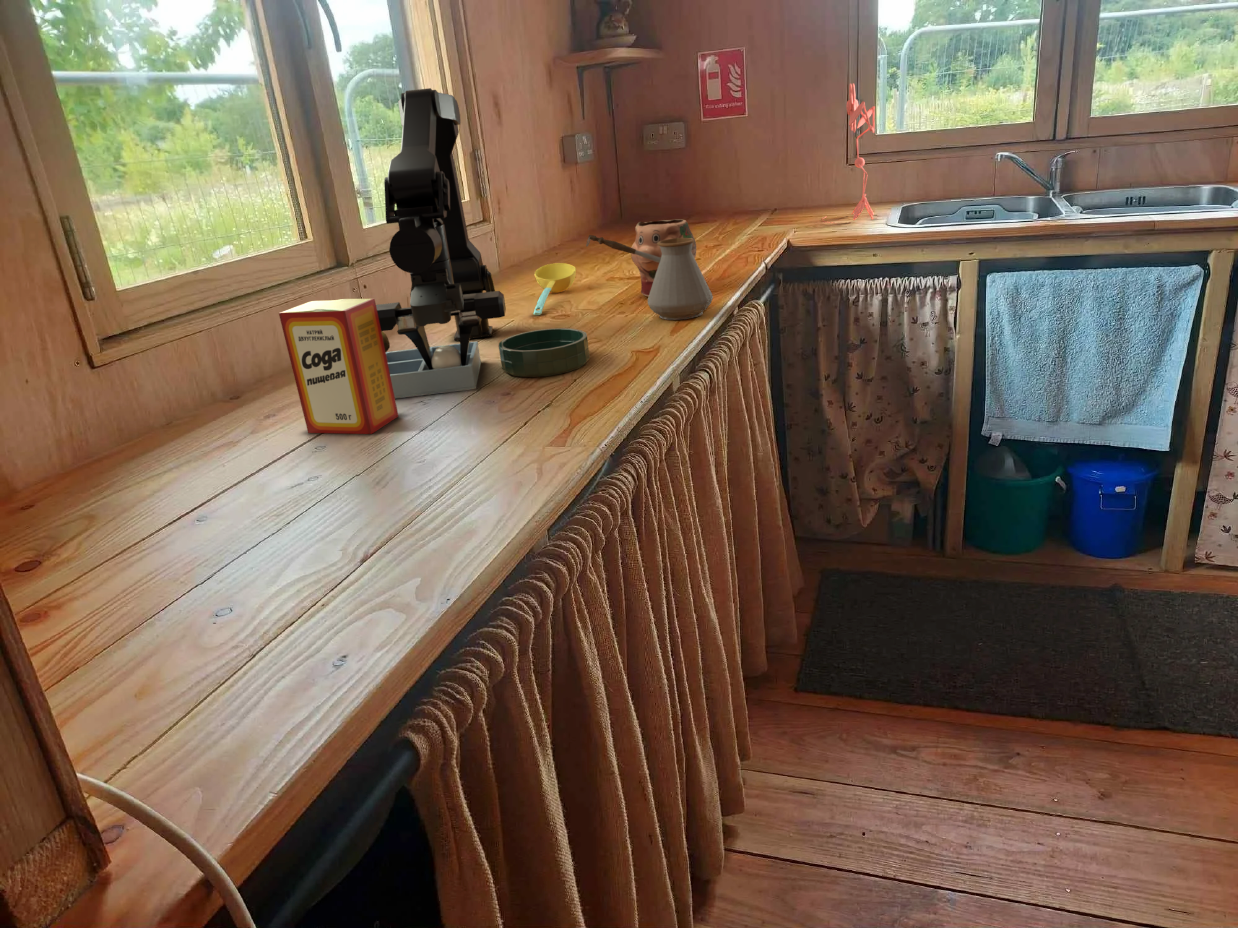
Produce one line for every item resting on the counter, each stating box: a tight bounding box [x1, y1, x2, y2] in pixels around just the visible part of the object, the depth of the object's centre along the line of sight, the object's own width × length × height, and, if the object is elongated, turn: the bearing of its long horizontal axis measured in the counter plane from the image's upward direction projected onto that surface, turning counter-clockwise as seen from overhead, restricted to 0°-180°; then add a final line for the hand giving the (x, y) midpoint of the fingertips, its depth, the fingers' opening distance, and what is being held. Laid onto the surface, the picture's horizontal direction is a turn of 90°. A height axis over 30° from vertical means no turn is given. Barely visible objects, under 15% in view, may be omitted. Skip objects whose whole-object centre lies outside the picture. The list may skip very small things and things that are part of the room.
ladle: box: [532, 262, 577, 316], centre depth 177 cm, size 9×26×6 cm, turn 174°
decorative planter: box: [630, 218, 697, 297], centre depth 171 cm, size 20×12×14 cm, turn 162°
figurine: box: [821, 82, 876, 224], centre depth 238 cm, size 15×26×35 cm, turn 165°
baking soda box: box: [278, 298, 399, 435], centre depth 111 cm, size 10×6×16 cm
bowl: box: [498, 327, 590, 378], centre depth 131 cm, size 13×13×4 cm
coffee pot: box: [585, 234, 714, 321], centre depth 152 cm, size 21×12×15 cm, turn 81°
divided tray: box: [386, 341, 482, 400], centre depth 129 cm, size 15×15×3 cm
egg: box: [431, 344, 461, 369], centre depth 125 cm, size 5×4×4 cm
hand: (448, 370), depth 126 cm, fingers closed on egg, 4 cm apart
